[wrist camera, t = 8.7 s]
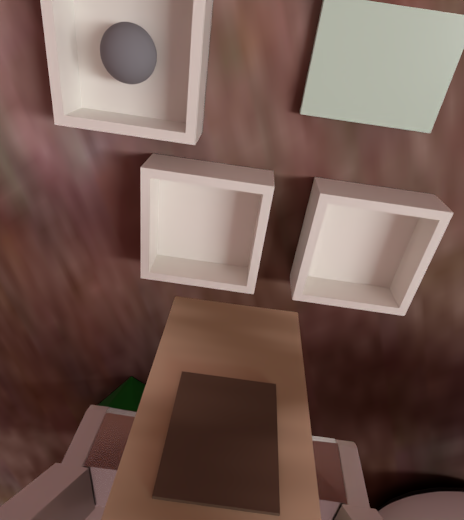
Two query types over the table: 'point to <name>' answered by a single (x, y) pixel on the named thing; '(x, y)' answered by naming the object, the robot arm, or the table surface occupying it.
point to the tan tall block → (221, 422)
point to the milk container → (426, 505)
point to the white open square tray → (366, 245)
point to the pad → (382, 63)
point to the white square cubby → (203, 222)
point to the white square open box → (120, 94)
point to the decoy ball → (128, 53)
